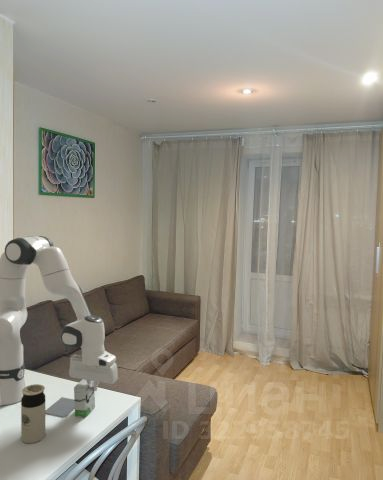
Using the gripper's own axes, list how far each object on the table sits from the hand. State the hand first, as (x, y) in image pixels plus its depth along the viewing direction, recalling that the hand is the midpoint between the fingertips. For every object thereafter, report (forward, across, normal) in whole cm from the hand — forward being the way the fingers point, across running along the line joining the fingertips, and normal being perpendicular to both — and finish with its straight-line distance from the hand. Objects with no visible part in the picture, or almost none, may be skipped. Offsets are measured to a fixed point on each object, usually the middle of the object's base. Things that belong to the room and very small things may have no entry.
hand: (93, 390), depth 152 cm
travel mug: (+10, -12, -21) cm, 26 cm away
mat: (+10, -14, 0) cm, 17 cm away
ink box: (+10, -4, 0) cm, 10 cm away
